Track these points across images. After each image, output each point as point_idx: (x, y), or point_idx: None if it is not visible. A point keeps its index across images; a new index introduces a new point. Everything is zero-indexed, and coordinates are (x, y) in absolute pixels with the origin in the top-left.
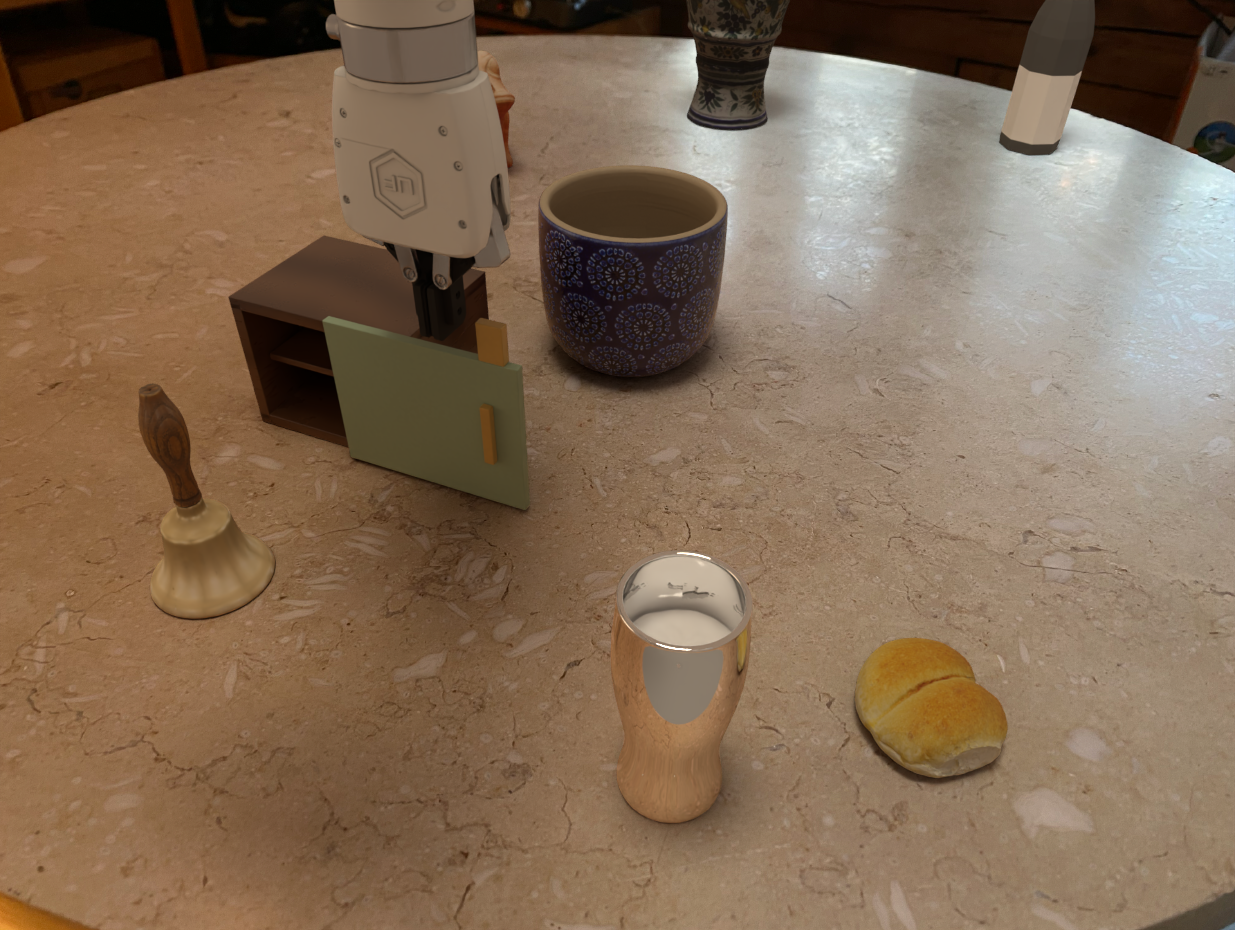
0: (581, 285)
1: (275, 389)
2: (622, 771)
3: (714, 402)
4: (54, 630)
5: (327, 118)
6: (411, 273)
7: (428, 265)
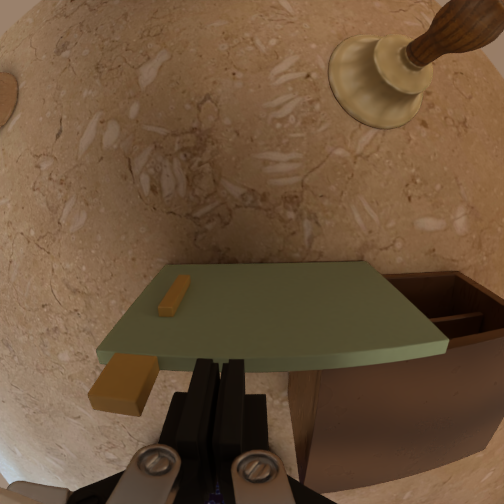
0: (209, 502)
1: (463, 295)
2: (4, 76)
3: (123, 428)
4: (426, 13)
5: (490, 497)
6: (251, 470)
7: (230, 497)
